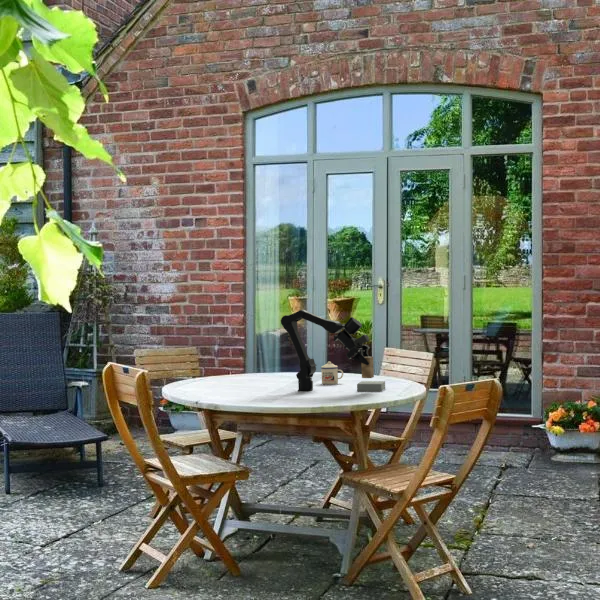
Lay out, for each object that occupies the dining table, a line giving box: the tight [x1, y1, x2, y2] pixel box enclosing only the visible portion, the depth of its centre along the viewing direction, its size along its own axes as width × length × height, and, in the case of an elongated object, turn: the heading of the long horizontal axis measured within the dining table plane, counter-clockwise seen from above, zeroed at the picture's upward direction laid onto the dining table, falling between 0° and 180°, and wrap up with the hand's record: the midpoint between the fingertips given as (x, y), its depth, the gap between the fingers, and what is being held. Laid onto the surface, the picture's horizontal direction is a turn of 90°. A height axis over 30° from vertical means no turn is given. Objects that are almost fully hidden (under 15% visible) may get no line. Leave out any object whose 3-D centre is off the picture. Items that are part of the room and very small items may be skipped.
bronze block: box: [360, 356, 375, 379], centre depth 408 cm, size 4×4×10 cm
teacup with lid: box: [320, 361, 344, 385], centre depth 449 cm, size 12×9×12 cm
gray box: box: [356, 380, 386, 392], centre depth 416 cm, size 12×12×4 cm
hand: (370, 364), depth 407 cm, fingers closed on bronze block, 4 cm apart
